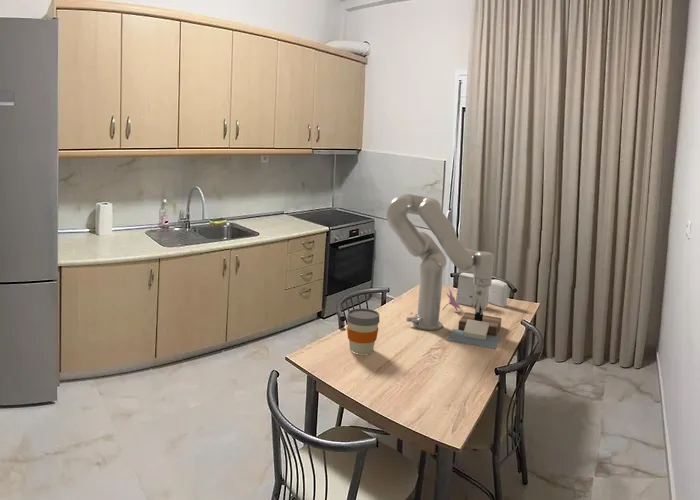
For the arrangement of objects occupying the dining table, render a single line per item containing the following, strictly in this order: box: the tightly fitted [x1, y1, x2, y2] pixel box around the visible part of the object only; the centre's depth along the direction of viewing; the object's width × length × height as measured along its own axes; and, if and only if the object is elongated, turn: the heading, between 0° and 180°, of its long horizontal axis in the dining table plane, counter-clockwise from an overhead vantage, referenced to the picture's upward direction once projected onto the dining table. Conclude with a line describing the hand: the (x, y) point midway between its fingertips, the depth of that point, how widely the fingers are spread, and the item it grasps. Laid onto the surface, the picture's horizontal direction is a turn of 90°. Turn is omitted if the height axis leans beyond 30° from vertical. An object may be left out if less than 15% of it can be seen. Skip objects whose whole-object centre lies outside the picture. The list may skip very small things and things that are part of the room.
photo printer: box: [488, 279, 509, 308], centre depth 298 cm, size 10×4×12 cm, turn 39°
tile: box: [464, 319, 489, 340], centre depth 253 cm, size 8×9×2 cm
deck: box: [457, 311, 502, 336], centre depth 264 cm, size 14×16×4 cm
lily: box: [442, 288, 462, 314], centre depth 286 cm, size 12×12×10 cm
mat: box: [445, 328, 501, 350], centre depth 251 cm, size 14×20×1 cm
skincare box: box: [455, 272, 475, 307], centre depth 297 cm, size 8×6×15 cm
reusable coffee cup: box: [346, 308, 380, 355], centre depth 231 cm, size 13×13×15 cm
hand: (478, 322), depth 257 cm, fingers closed
